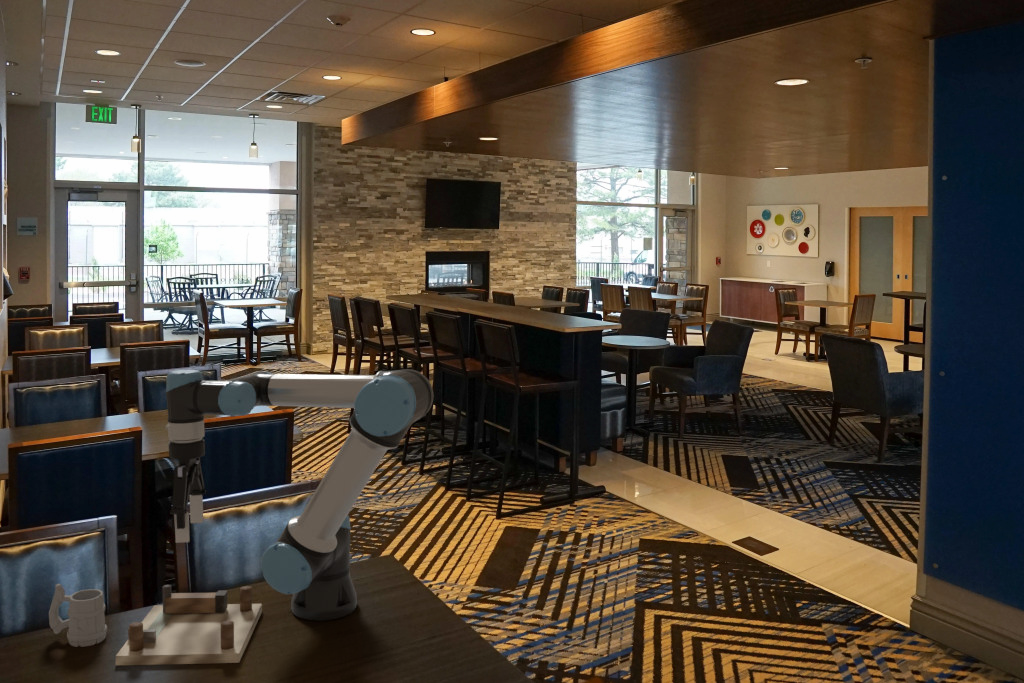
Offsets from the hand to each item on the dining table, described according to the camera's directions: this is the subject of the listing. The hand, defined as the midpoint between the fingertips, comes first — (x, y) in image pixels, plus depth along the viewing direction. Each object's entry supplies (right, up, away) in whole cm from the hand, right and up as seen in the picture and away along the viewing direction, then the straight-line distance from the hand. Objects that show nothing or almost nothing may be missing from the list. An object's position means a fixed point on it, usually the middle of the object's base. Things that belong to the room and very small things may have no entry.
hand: (190, 532), depth 185 cm
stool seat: (+4, -21, -8) cm, 23 cm away
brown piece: (+1, -18, 0) cm, 18 cm away
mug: (-20, -21, -10) cm, 30 cm away
